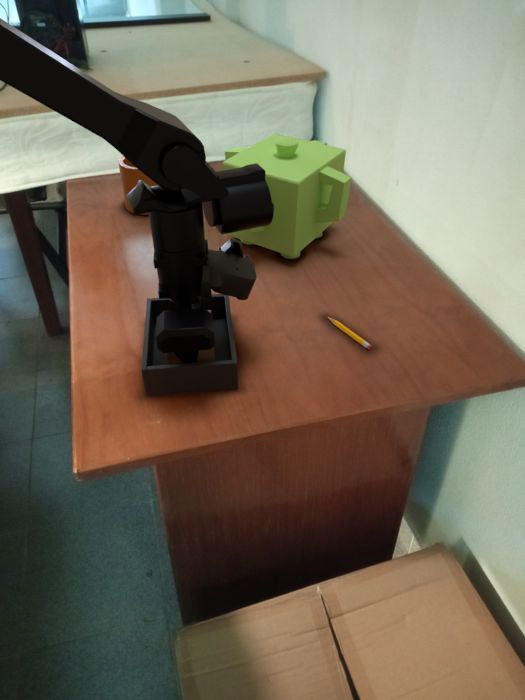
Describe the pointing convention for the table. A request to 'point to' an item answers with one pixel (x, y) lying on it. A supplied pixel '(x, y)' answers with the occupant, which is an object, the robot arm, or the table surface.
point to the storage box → (295, 190)
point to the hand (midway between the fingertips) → (190, 345)
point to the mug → (131, 179)
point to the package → (202, 357)
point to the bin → (190, 375)
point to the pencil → (351, 334)
